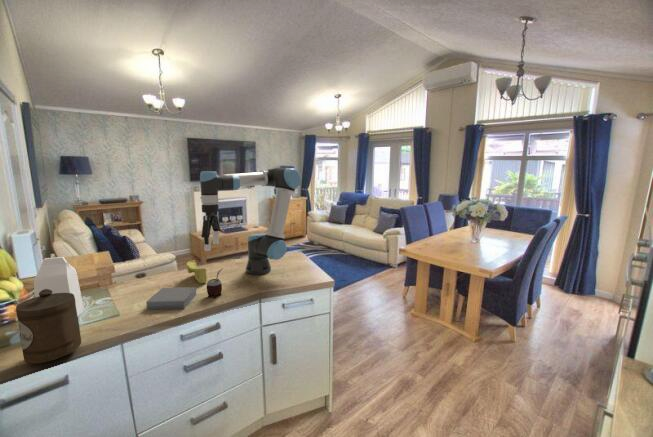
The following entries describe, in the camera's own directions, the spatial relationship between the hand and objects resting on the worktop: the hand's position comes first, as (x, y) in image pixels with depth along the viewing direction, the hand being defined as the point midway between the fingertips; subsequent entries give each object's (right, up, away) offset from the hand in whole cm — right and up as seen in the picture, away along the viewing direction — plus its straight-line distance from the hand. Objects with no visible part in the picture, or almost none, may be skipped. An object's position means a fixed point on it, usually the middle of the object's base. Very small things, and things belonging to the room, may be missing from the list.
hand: (212, 247), depth 147 cm
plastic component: (-19, -21, +25) cm, 38 cm away
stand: (-17, -26, -4) cm, 31 cm away
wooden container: (-38, -32, -43) cm, 66 cm away
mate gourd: (0, -25, +4) cm, 25 cm away
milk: (-56, -28, -20) cm, 66 cm away
